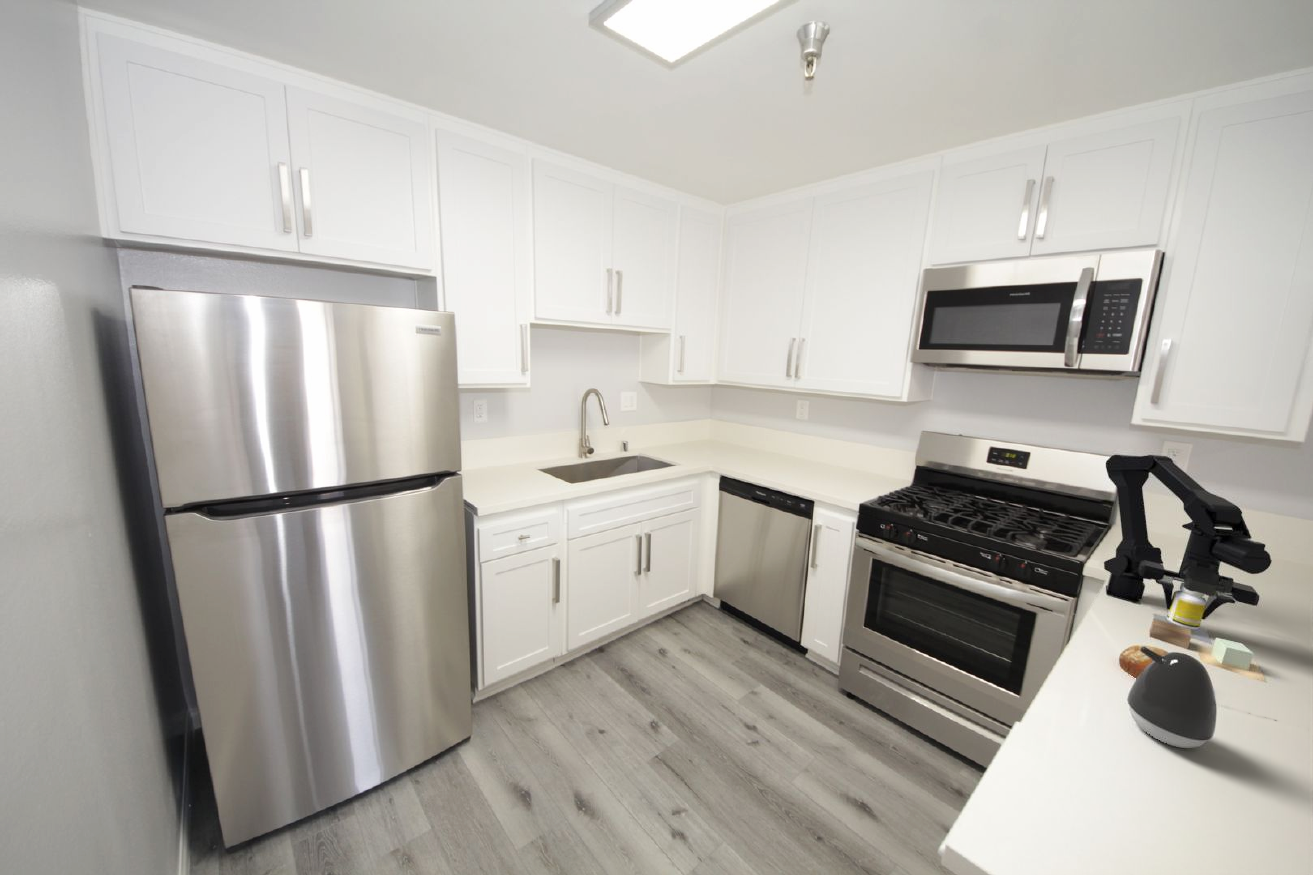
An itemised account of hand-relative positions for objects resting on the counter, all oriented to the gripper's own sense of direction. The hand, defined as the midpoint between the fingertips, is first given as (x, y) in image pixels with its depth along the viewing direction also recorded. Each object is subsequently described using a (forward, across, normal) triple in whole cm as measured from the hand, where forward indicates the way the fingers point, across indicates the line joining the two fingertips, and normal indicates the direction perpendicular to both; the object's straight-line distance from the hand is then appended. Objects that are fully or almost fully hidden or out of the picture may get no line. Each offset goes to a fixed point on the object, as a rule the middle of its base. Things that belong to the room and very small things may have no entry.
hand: (1184, 613), depth 116 cm
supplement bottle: (+3, 0, 0) cm, 3 cm away
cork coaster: (+4, +6, -12) cm, 14 cm away
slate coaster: (+4, 0, 0) cm, 4 cm away
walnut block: (+4, -3, -10) cm, 11 cm away
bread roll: (+5, -7, -32) cm, 33 cm away
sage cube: (+4, +6, -12) cm, 14 cm away
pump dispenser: (+4, -7, -52) cm, 53 cm away
